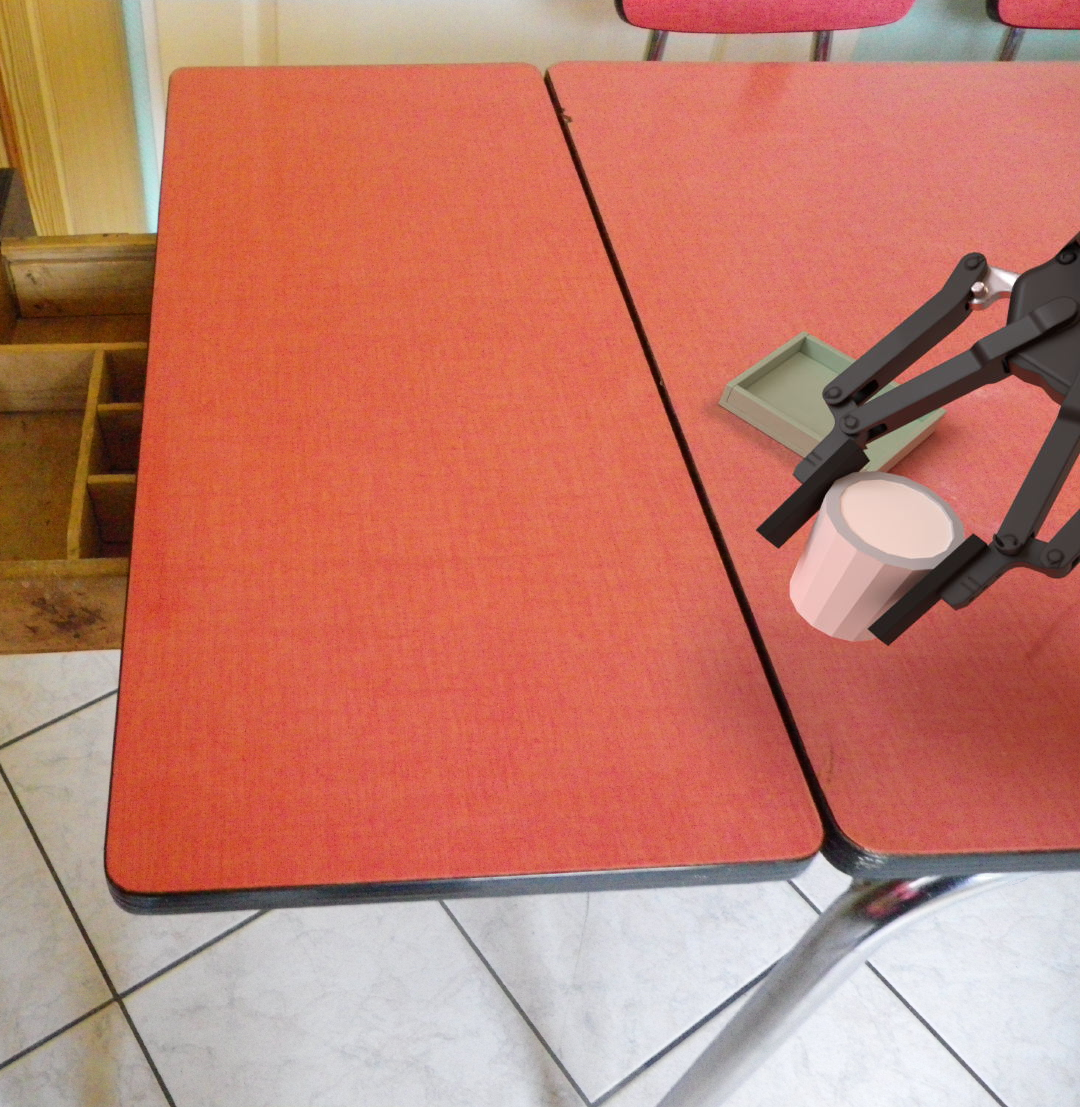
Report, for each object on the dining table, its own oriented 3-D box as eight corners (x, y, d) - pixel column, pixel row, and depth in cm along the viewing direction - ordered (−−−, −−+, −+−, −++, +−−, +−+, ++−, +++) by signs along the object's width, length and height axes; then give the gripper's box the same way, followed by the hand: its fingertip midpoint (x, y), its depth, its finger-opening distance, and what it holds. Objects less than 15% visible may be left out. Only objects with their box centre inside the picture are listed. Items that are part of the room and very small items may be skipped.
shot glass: (821, 536, 60) (872, 450, 55) (928, 608, 57) (993, 524, 51) (753, 593, 57) (799, 508, 52) (861, 673, 54) (922, 591, 48)
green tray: (934, 431, 82) (947, 410, 81) (861, 494, 77) (873, 473, 76) (794, 350, 89) (803, 330, 87) (717, 404, 84) (726, 383, 82)
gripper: (1420, 377, 44) (988, 734, 51) (1020, 169, 55) (708, 486, 61) (1470, 311, 38) (974, 725, 45) (1010, 92, 49) (666, 452, 55)
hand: (820, 586), depth 53 cm, fingers closed on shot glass, 7 cm apart
